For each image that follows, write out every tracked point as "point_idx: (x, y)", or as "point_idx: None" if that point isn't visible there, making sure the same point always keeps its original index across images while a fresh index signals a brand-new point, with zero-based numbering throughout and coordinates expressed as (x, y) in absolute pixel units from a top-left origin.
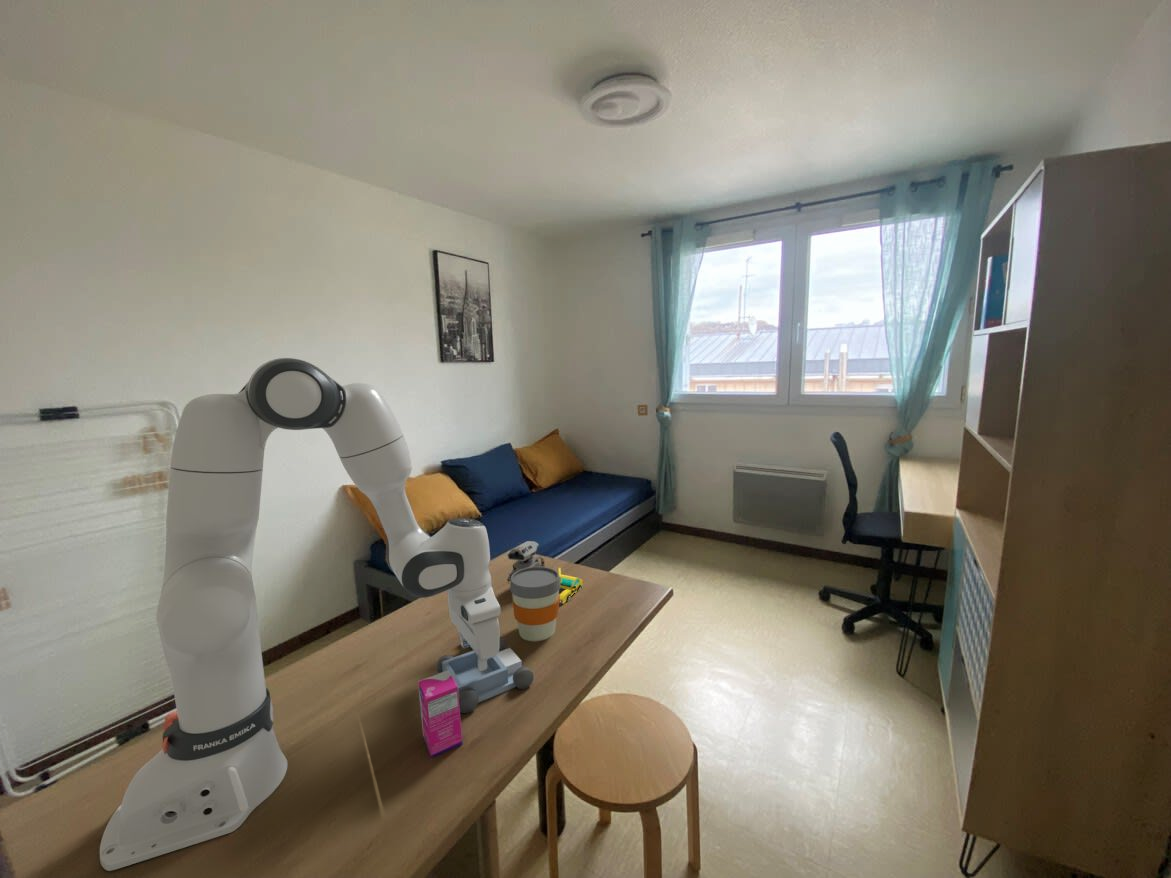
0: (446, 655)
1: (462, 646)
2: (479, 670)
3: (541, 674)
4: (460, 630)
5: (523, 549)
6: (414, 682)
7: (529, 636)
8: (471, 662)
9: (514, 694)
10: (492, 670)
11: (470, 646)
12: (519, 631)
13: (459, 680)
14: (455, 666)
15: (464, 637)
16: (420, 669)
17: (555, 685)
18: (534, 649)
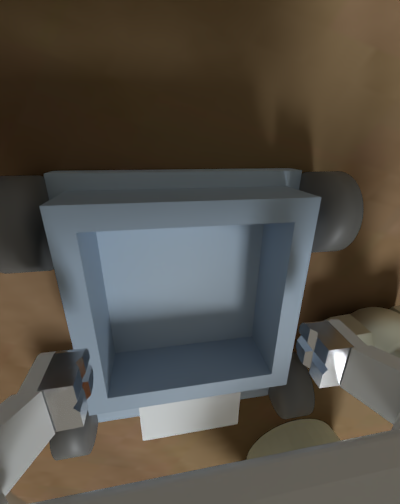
0: (352, 230)
1: (316, 324)
2: (41, 355)
3: (115, 431)
4: (377, 488)
5: None
6: (340, 69)
7: (273, 451)
8: (263, 300)
9: None
10: (191, 341)
11: (361, 311)
12: (313, 436)
13: (207, 232)
14: (273, 243)
15: (239, 484)
16: (394, 121)
17: (48, 448)
18: (230, 435)
